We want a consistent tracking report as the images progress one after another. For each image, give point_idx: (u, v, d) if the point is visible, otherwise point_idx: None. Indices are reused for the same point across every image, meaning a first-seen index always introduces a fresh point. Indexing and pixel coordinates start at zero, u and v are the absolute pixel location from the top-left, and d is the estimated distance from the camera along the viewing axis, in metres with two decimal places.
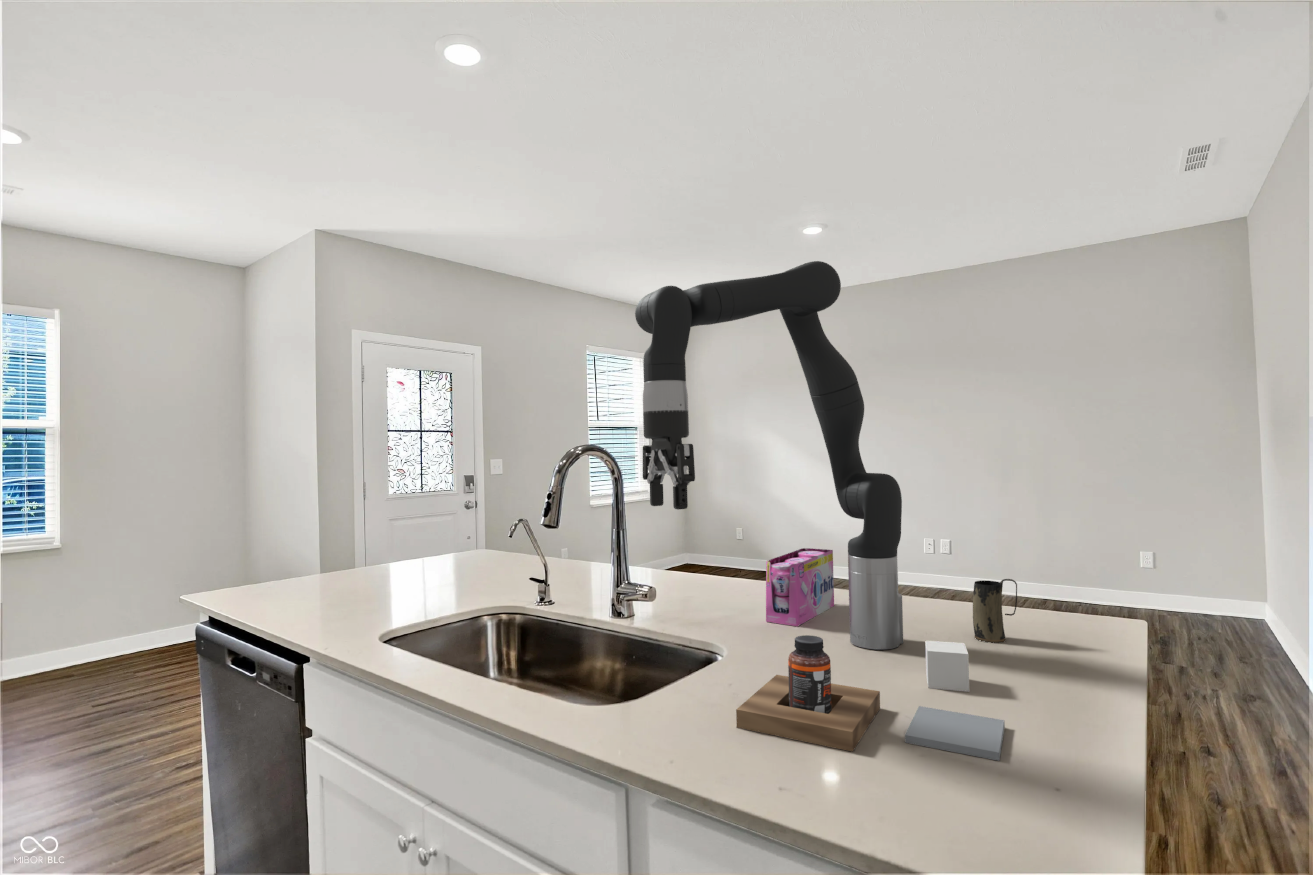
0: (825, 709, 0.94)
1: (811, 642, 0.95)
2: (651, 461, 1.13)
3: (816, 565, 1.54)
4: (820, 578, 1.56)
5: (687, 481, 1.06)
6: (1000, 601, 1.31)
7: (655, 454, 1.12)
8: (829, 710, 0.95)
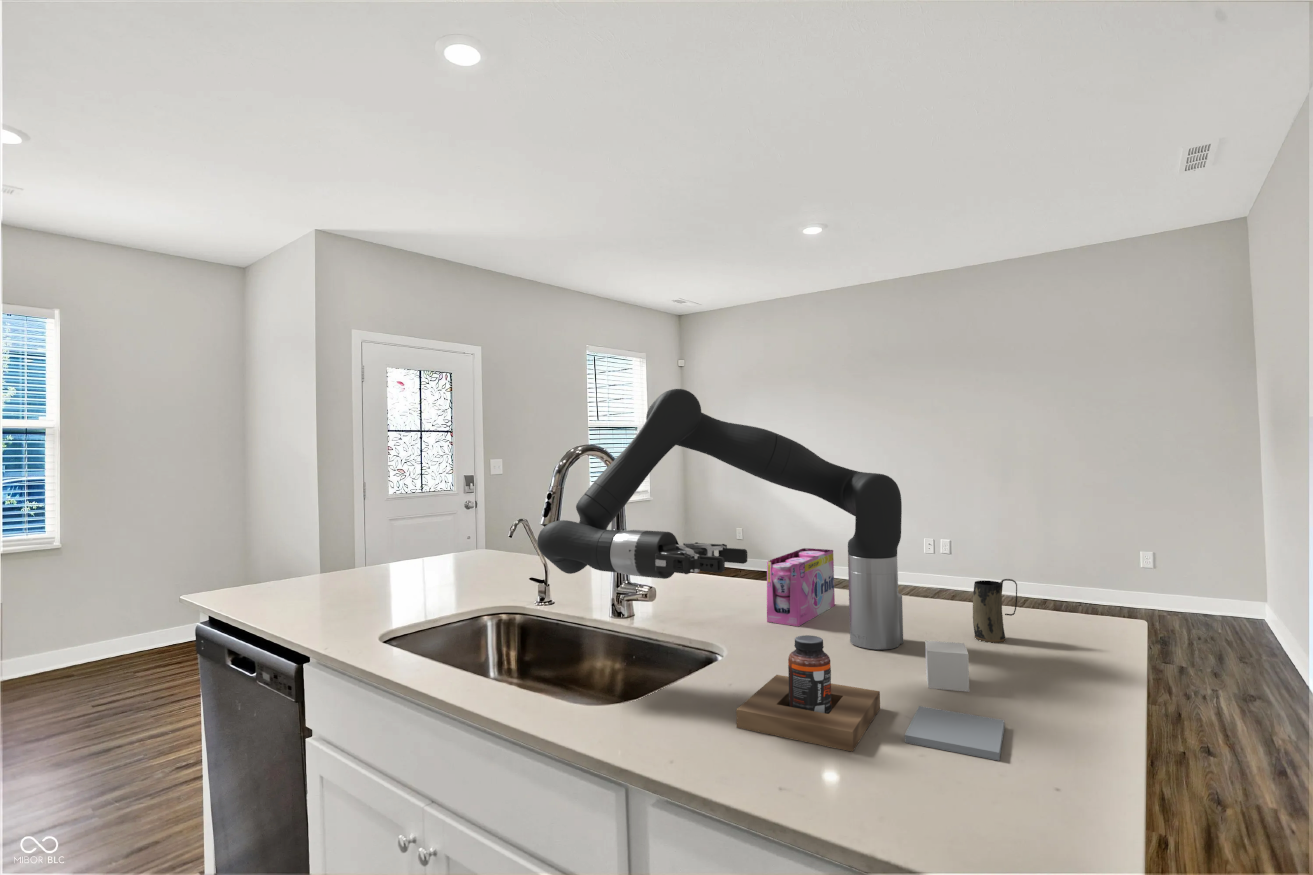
0: (825, 709, 0.94)
1: (811, 642, 0.95)
2: None
3: (817, 565, 1.54)
4: (821, 578, 1.56)
5: (689, 564, 0.99)
6: (1000, 601, 1.31)
7: None
8: (829, 710, 0.95)
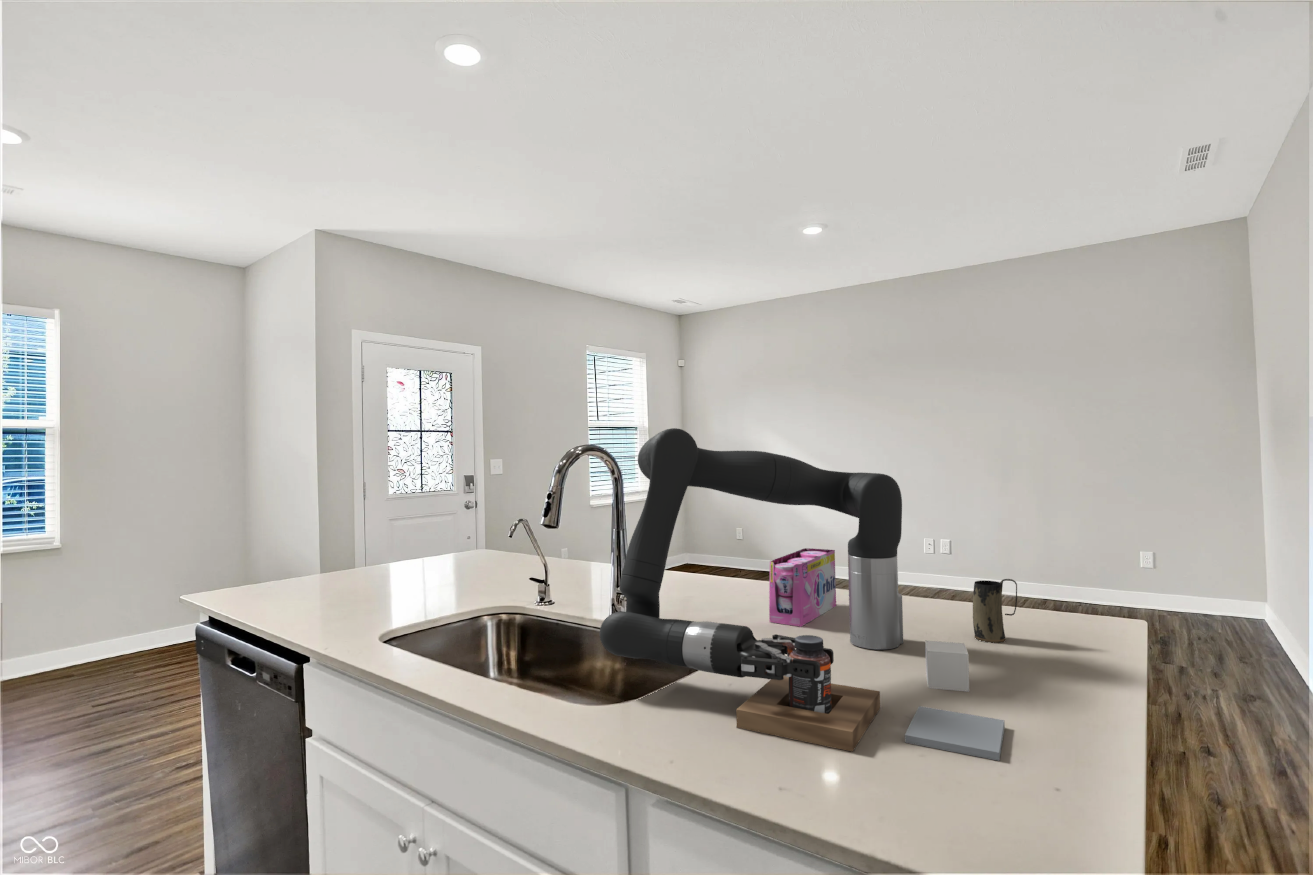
0: (825, 709, 0.94)
1: (811, 642, 0.95)
2: None
3: (819, 565, 1.54)
4: (823, 578, 1.56)
5: (782, 670, 0.93)
6: (1000, 601, 1.31)
7: None
8: (829, 710, 0.95)
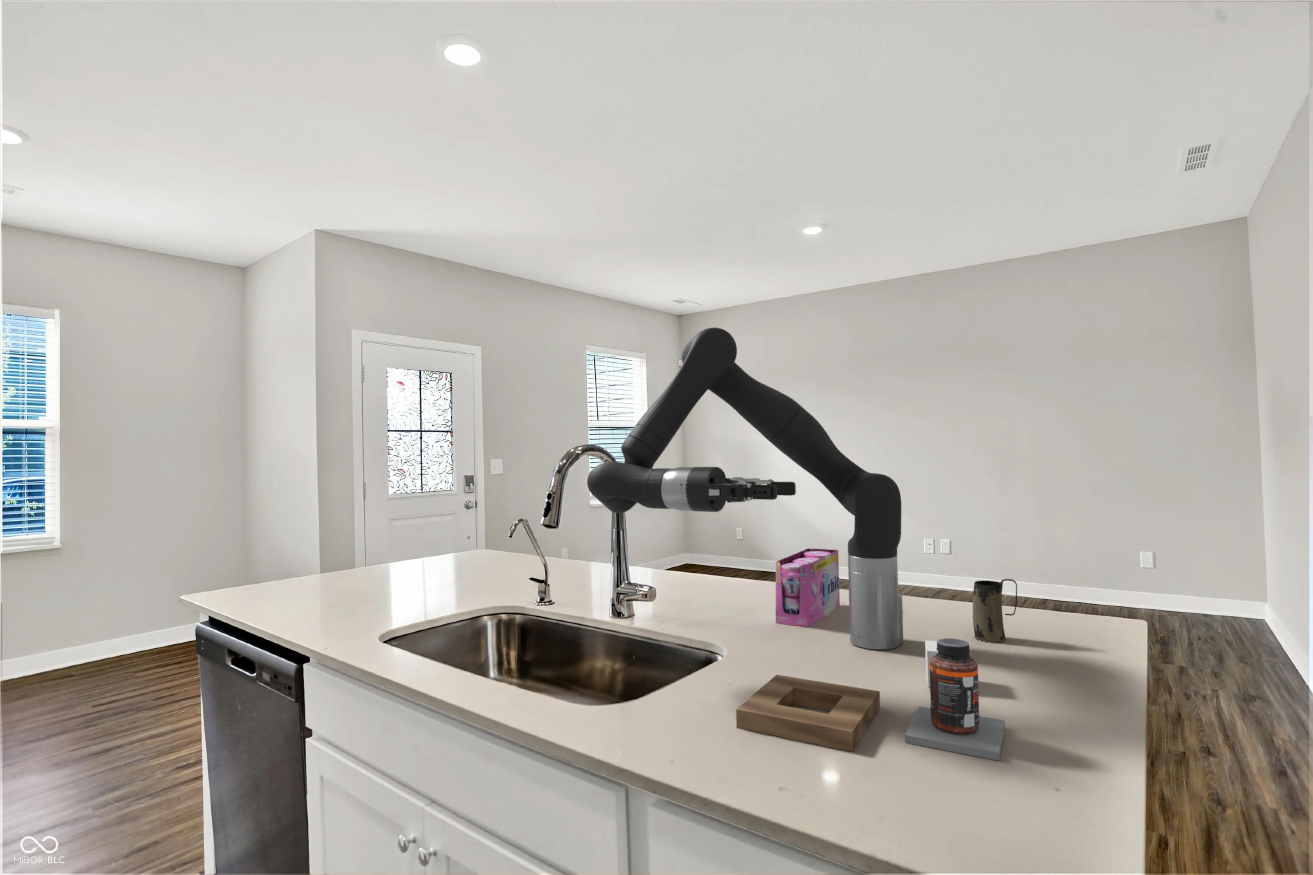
0: (975, 717, 0.88)
1: (958, 646, 0.88)
2: None
3: (824, 565, 1.53)
4: (828, 578, 1.56)
5: (742, 492, 1.02)
6: (1000, 601, 1.31)
7: None
8: (978, 719, 0.88)
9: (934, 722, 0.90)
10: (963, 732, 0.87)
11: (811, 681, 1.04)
